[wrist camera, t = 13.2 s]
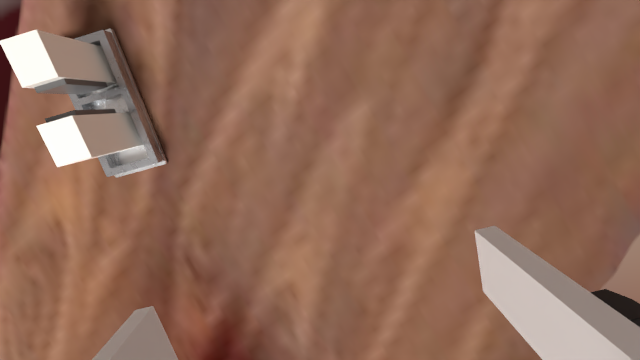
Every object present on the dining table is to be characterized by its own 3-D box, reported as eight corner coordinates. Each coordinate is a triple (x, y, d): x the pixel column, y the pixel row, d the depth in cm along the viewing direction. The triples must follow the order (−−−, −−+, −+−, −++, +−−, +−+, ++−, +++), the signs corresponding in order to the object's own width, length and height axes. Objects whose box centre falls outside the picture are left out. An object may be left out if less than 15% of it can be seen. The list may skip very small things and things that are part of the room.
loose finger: (117, 152, 42) (57, 167, 32) (101, 115, 40) (33, 120, 31) (144, 144, 41) (91, 157, 32) (129, 107, 40) (69, 109, 30)
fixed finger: (106, 47, 39) (36, 29, 29) (123, 87, 40) (61, 82, 30) (78, 56, 39) (-1, 41, 29) (95, 95, 40) (25, 93, 31)
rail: (59, 46, 39) (44, 42, 37) (113, 29, 38) (101, 25, 36) (118, 176, 43) (108, 180, 41) (168, 163, 43) (160, 166, 40)
